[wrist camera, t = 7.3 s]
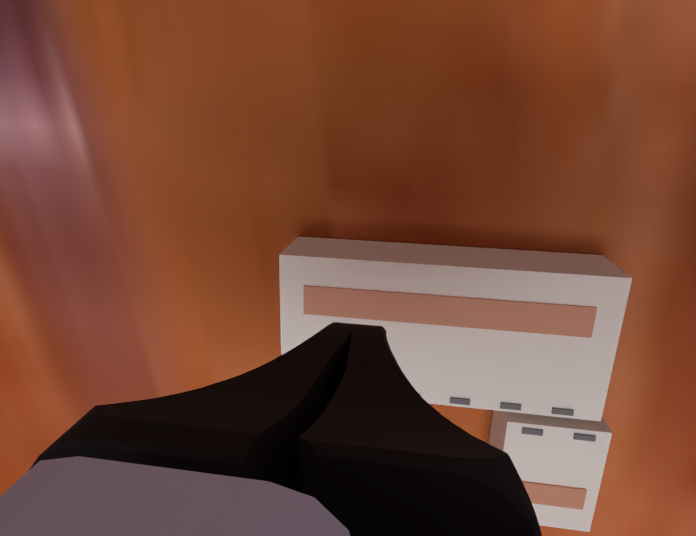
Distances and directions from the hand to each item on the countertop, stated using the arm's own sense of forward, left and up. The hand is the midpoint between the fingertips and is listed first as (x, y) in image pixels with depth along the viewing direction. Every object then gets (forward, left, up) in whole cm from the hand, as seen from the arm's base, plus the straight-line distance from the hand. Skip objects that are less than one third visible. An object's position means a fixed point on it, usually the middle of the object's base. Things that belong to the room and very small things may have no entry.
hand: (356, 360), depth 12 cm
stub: (-8, +8, -10) cm, 15 cm away
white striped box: (-3, +3, -10) cm, 11 cm away
